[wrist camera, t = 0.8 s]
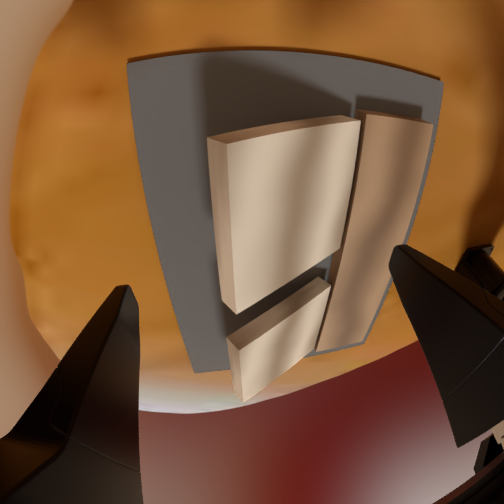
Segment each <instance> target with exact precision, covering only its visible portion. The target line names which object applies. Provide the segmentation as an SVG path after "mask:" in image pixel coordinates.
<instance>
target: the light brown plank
mask: <svg viewBox="0 0 504 504" xmlns="http://www.w3.org/2000/svg"><path fill="white" fill-rule="evenodd" d="M354 119H357V120H361V123H360V132H359V140H358V147H357V155H356V162H355V168H354V175H353V181H352V187H351V193H350V199H349V204H348V210H347V215H346V220H345V225H344V230H343V235H342V240H341V245H340V249H338V250H337V251H335V252H334V253H333V257H332V262H331V266H330V271H329V276H328V280H327V283H329V284H330V285H331V288H330V292H329V296H328V300H327V304H326V308H325V311H324V315H323V319H322V322H321V326H320V330H319V333H318V337H317V340H316V343H315V347H314V348H315V351H316V352H318V351H323V350H328V349H332V348H337V347H341V346H345V345H349V344H354V343H358V342H362V341H363V339H364V337H365V335H366V333H367V331H368V328H369V326H370V324H371V322H372V320H373V318H374V315H375V313H376V311H377V309H378V306H379V304H380V302H381V299H382V297H383V295H384V292H385V290H386V287H387V285H388V282H389V280H390V277H391V274H390V271H389V266H388V265H389V260H390V257H391V254H392V251H393V248H394V247H395V246H396V245H401V244H403V241H404V239H405V236H406V232H407V229H408V226H409V223H410V220H411V217H412V213H413V210H414V207H415V203H416V200H417V196H418V192H419V189H420V185H421V181H422V177H423V173H424V169H425V164H426V160H427V155H428V151H429V146H430V141H431V136H432V130H433V124H431V123H429V122H427V121H425V120H423V119H419V118H414V117H408V116H403V115H396V114H390V113H383V112H375V111H367V110H358V109H355V118H354Z"/></svg>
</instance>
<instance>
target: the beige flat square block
mask: <svg viewBox="0 0 504 504" xmlns="http://www.w3.org/2000/svg"><path fill="white" fill-rule="evenodd" d="M330 288H331V285H330V284H329V283H327V282H326V281H324V280H323V279H321V278H320V277H319V276H318V277H317V278H315V279H314V280H312V281H311V282H310V283H308V284H307V285H305V286H304V287H302V288H301V289H299V290H298V291H296V292H295V293H294V294H292V295H291V296H289V297H288V298H286V299H285V300H283V301H282V302H280V303H279V304H277V305H276V306H274V307H273V308H271V309H270V310H268V311H266V312H265V313H263V314H262V315H260V316H259V317H257V318H256V319H254V320H253V321H251V322H249V323H248V324H246V325H245V326H243V327H242V328H240V329H238V330H237V331H235V332H234V333H232V334H230V335H229V336H227V337H226V339H227V346H228V354H229V361H230V368H231V375H232V382H233V389H234V393H235V394H236V395H237V396H238V397H239V398H240V400H241V401H242V402H243V403H244V402H245V401H247V400H248V399H249V398H251V397H252V396H254V395H255V394H256V393H258V392H259V391H261V390H262V389H263V388H265V387H266V386H267V385H269V384H270V383H271V382H273V381H274V380H275V379H277V378H278V377H279V376H281V375H282V374H283V373H284V372H286V371H287V370H288V369H290V368H291V367H292V366H293V365H295V364H296V363H297V362H298V361H300V360H301V359H302V358H303V357H304V356H306V355H307V354H308V353H309V352H311V351H312V350H313V349H314V347H315V343H316V340H317V337H318V333H319V330H320V326H321V322H322V319H323V315H324V311H325V308H326V304H327V300H328V296H329V292H330Z"/></svg>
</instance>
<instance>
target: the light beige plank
mask: <svg viewBox="0 0 504 504" xmlns="http://www.w3.org/2000/svg"><path fill="white" fill-rule="evenodd" d="M360 123H361V120H357V119H354V118H350V117H347V116H343V115H337V116H328V117H319V118H310V119H303V120H295V121H289V122H282V123H276V124H270V125H264V126H259V127H253V128H248V129H243V130H238V131H233V132H228V133H224V134H219V135H215V136H211V137H207V148H208V162H209V175H210V188H211V199H212V211H213V222H214V232H215V243H216V253H217V262H218V271H219V281H220V289H221V298H222V301H223V302H224V303H225V304H226V305H227V306H228V307H229V308H230V309H231V310H232V311H233V312H234V313H235V314H236V315H237V314H238V313H240V312H241V311H243V310H245V309H246V308H248V307H250V306H251V305H253V304H254V303H256V302H258V301H259V300H261V299H263V298H264V297H266V296H267V295H269V294H271V293H272V292H274V291H275V290H277V289H278V288H280V287H282V286H283V285H285V284H286V283H288V282H289V281H291V280H293V279H294V278H296V277H297V276H299V275H300V274H302V273H303V272H305V271H306V270H308V269H309V268H311V267H313V266H314V265H316V264H317V263H319V262H320V261H322V260H323V259H325V258H326V257H328V256H329V255H331V254H332V253H334V252H335V251H337V250H338V249H340V245H341V240H342V235H343V230H344V225H345V220H346V215H347V210H348V204H349V199H350V193H351V187H352V181H353V175H354V168H355V162H356V155H357V147H358V140H359V132H360Z"/></svg>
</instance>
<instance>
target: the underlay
mask: <svg viewBox="0 0 504 504" xmlns="http://www.w3.org/2000/svg"><path fill="white" fill-rule="evenodd" d="M127 74H128V85H129V94H130V103H131V112H132V119H133V127H134V134H135V141H136V147H137V153H138V159H139V165H140V171H141V176H142V182H143V187H144V192H145V197H146V202H147V207H148V211H149V216H150V220H151V225H152V229H153V234H154V238H155V242H156V246H157V250H158V254H159V258H160V262H161V266H162V270H163V273H164V277H165V281H166V284H167V288H168V291H169V295H170V298H171V302H172V305H173V309H174V312H175V315H176V318H177V322H178V325H179V328H180V331H181V334H182V337H183V340H184V343H185V346H186V349H187V352H188V355H189V358H190V361H191V364H192V367H193V369H194V372H195V373H201V372H212V371H221V370H230V369H231V368H230V361H229V354H228V346H227V339H226V337H227V336H229V335H230V334H232V333H234V332H235V331H237V330H238V329H240V328H242V327H243V326H245V325H246V324H248V323H249V322H251V321H253V320H254V319H256V318H257V317H259V316H260V315H262V314H263V313H265V312H266V311H268V310H270V309H271V308H273V307H274V306H276V305H277V304H279V303H280V302H282V301H283V300H285V299H286V298H288V297H289V296H291V295H292V294H294V293H295V292H296V291H298V290H299V289H301V288H302V287H304V286H305V285H307V284H308V283H310V282H311V281H312V280H314V279H315V278H317V277H318V276H319V277H320V278H321V279H323V280H324V281H326V282H327V280H328V276H329V271H330V266H331V262H332V257H333V253H332V254H331V255H329V256H328V257H326V258H325V259H323V260H322V261H320V262H319V263H317V264H316V265H314V266H313V267H311V268H309V269H308V270H306V271H305V272H303V273H302V274H300V275H299V276H297V277H296V278H294V279H293V280H291V281H289V282H288V283H286V284H285V285H283V286H282V287H280V288H278V289H277V290H275V291H274V292H272V293H271V294H269V295H267V296H266V297H264V298H263V299H261V300H259V301H258V302H256V303H254V304H253V305H251V306H250V307H248V308H246V309H245V310H243V311H241V312H240V313H238V314H237V315H236V314H235V313H234V312H233V311H232V310H231V309H230V308H229V307H228V306H227V305H226V304H225V303H224V302H223V301H222V298H221V289H220V281H219V271H218V262H217V253H216V243H215V232H214V222H213V211H212V199H211V188H210V175H209V162H208V148H207V137H211V136H215V135H219V134H224V133H228V132H233V131H238V130H243V129H248V128H253V127H259V126H264V125H270V124H276V123H282V122H289V121H295V120H303V119H310V118H319V117H328V116H337V115H343V116H347V117H350V118H355V109H358V110H367V111H375V112H383V113H390V114H396V115H403V116H408V117H414V118H419V119H423V120H425V121H427V122H429V123H431V124H433V130H432V136H431V141H430V146H429V151H428V155H427V160H426V164H425V169H424V173H423V177H422V181H421V185H420V189H419V192H418V196H417V200H416V203H415V207H414V210H413V213H412V217H411V220H410V223H409V226H408V229H407V232H406V236H405V239H404V241H403V244H407V241H408V238H409V235H410V232H411V229H412V226H413V223H414V220H415V216H416V213H417V210H418V206H419V203H420V200H421V196H422V192H423V189H424V185H425V181H426V177H427V173H428V169H429V165H430V161H431V156H432V152H433V147H434V142H435V137H436V132H437V126H438V120H439V114H440V108H441V101H442V93H443V85H444V82H442V81H439V80H436V79H433V78H430V77H426V76H423V75H420V74H416V73H413V72H409V71H406V70H402V69H398V68H394V67H390V66H386V65H381V64H377V63H372V62H367V61H361V60H356V59H350V58H344V57H337V56H330V55H321V54H312V53H301V52H287V51H255V50H249V51H217V52H202V53H191V54H182V55H174V56H166V57H159V58H153V59H147V60H142V61H137V62H132V63H127ZM392 281H393V279H392V276H391V277H390V280H389V282H388V285H387V287H386V290H385V292H384V295H383V297H382V299H381V302H380V304H379V306H378V309H377V311H376V313H375V315H374V318H373V320H372V322H371V324H370V326H369V328H368V331H367V333H366V335H365V337H364V339H363V341H362V342H358V343H354V344H349V345H345V346H341V347H337V348H332V349H328V350H323V351H318V352H316V351H315V348H314V349H313V350H312V351H311V352H309V353H308V354H307V355H306V356H304V357H303V358H305V357H310V356H315V355H320V354H324V353H329V352H333V351H338V350H342V349H346V348H350V347H354V346H358V345H362V344H364V343H365V341H366V339H367V337H368V335H369V333H370V331H371V329H372V326H373V324H374V322H375V320H376V318H377V316H378V313H379V311H380V309H381V307H382V305H383V302H384V300H385V298H386V295H387V293H388V291H389V288H390V286H391V283H392Z"/></svg>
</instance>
